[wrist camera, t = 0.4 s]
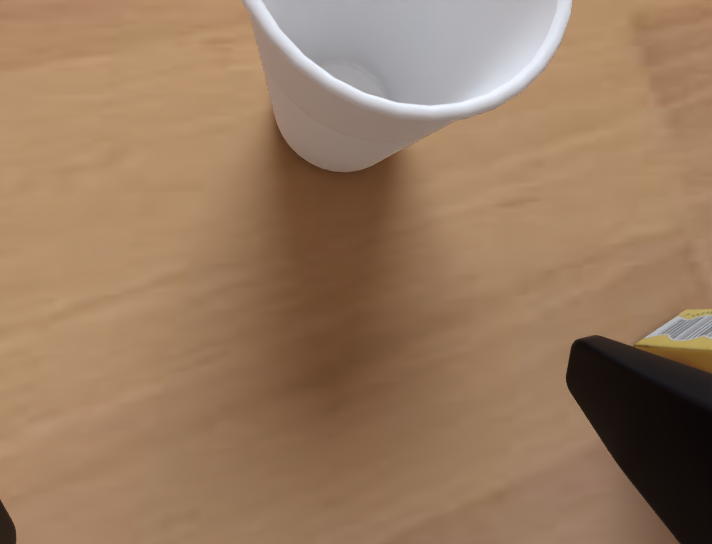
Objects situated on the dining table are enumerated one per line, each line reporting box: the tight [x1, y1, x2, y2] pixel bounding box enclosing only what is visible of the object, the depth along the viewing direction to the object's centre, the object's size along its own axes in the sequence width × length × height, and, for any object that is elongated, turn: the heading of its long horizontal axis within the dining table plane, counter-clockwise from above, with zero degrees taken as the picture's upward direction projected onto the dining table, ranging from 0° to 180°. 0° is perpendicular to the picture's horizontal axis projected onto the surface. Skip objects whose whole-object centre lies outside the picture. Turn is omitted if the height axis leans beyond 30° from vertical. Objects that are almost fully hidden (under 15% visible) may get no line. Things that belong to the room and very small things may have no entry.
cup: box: [242, 0, 572, 172], centre depth 19 cm, size 10×10×11 cm
